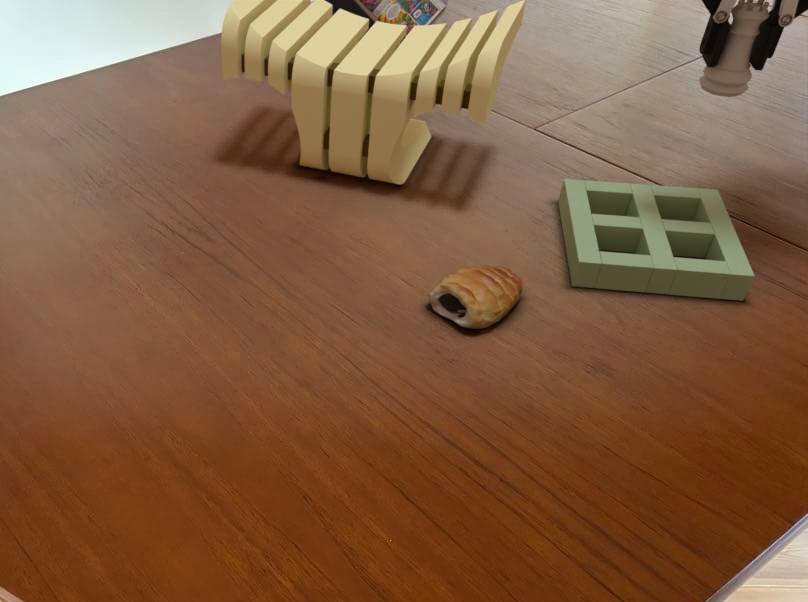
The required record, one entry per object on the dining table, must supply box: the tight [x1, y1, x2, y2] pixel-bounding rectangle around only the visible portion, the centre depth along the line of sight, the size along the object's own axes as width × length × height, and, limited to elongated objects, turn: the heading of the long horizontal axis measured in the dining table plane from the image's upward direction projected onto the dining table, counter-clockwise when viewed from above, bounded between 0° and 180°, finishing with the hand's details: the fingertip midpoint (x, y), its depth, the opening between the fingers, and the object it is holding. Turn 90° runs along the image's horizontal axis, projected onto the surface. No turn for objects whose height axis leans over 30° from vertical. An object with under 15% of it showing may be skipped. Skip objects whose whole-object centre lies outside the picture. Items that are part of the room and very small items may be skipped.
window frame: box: [557, 178, 755, 302], centre depth 90 cm, size 16×16×3 cm
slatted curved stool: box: [220, 0, 527, 186], centre depth 100 cm, size 30×16×18 cm, turn 67°
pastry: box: [428, 265, 524, 330], centre depth 83 cm, size 9×7×4 cm
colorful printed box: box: [311, 0, 449, 53], centre depth 121 cm, size 20×22×18 cm
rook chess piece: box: [698, 0, 770, 98], centre depth 80 cm, size 4×4×8 cm
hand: (731, 61), depth 81 cm, fingers closed on rook chess piece, 3 cm apart
